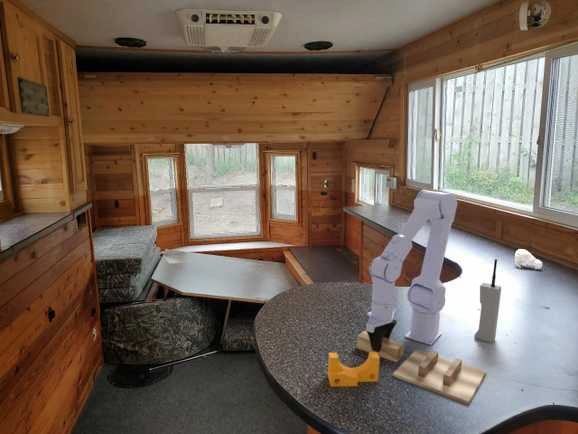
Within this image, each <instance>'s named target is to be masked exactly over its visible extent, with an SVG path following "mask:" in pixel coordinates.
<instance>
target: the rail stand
mask: <svg viewBox="0 0 578 434" xmlns="http://www.w3.org/2000/svg"><path fill="white" fill-rule="evenodd" d="M486 374H487V371H486V370H483V369H479V368H476V367H474V366H470V365H467V364H465V363H463V360H462V359H460V358H457V357H455V359H454V360H452V359H449V358H445V357H442V356H440V355H439V351H435V350H432V351H431V352H427V351H424V350H421V349H418V348H417V349H415V350H414V351H413V352H412V353H411V354H410V355H409V356H408V357H407V358H406V359H405V360H404V362H402V363H401V365H400V366H399V367H398V368H397V369H396V370H394V372H393V373H392V377H394V378H397V379H399V380H402V381H404V382H406V383H407V382H408V383H410V384H413V385H416V386H418V387H420V388H423V389H425V390H429V391H431V392H433V393H436V394H439V395H442V396H445V397H447V398H450V399H453V400H455V401H457V402H460V403H463V404H464V405H467V406H468V405H469V404H470V403H471V401H472V399H473V398H474V396H475V394H476V392H477V391H478V388H479V387H480V385H481V383H482V382H483V380H484V379H485V376H486Z"/></svg>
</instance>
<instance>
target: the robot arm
mask: <svg viewBox="0 0 578 434" xmlns="http://www.w3.org/2000/svg"><path fill="white" fill-rule="evenodd" d="M458 204H459V203H458V200H457V198H456V197H455V195H454V194H453V193H452V192H447V193H446V192H440V191H432V190H427V189H422V190H420V191H419V192H418V193H417V195H416V198H415V199H414V200H413V206H414V208H413V210H412V212H411V214H410V215H409V217H408V219H407V221H406V223H405V224H404V226H403V228H402V230H401V232H400V233H399V234H395V235H393V237H392V238H391V239H390V241H389V242H388V243H387V246H386V247H385V248H384V250H383V251H382V253H381V255H379V256H377V257H376V258H373V260H372V261H371V262H370V266H369V267H368V272H369V274H370V275H371V276H370V277H371V282H372V294H371V310H370V311H368V312H367V313H366V314H367V317H369V318H368V322H367V323H366V324H365V326H364V331H366V332H367V333H368V336H369V339H370V343H371V348H372V350H373V351H376V352H379V351H380V349H381V345H382V340H383V337H384V338H387V339H390V337H391V335H392V332H393V329H394V328H395V327H396V325H397V319H394V317H396V312H397V309H396V308H394V300H395V286H396V285H395V284H396V281H397V280H398V278H400V276H401V272H402V267H403V263H404V261H405V259H406V257H408V254H409V253H410V251H411V250H412V248H413V243H412V240H414V238H415V237H416V235H417V234H418V233H419V231H420V230H421V229H422V228H423V227H424V225H425V224H426V222H427V221H429V222H430V224H431V226H430V230H429V235H428V240H427V244H426V249H425V253H424V258H423V262H422V265H421V271H420V275H418V276H416V277H415V278H412V280H411V284H410V286H409V288H408V289H407V294H406V297H407V301H408V302H409V303H410V305H409V306H410V307H411V308H412V309H411V321H410V331H408V332H407V333H406V334H405V335H404V336H405V338H407V339H409V340H410V339H411V340H413V341H416V342H420V343H423V344H425V345H426V344H427V345H430V346H432V345H433V344H434V343H435V342H436V341H437V339H438V338H439V337H440V336H441V335H442V332H440V331H439V330H440V329H439V328H440V318H441V317H440V316H441V313H440V312H441V311H443V309H444V307H445V305H446V290H447V289H446V287H445V285H444V284H443V283H442V282H441V280H440V277H441V272H442V268H443V262H444V260H445V255H446V249H447V246H448V245H447V244H448V241H449V237H450V232H451V228H452V224H453V223H454V220H455V217H456V212H457V207H458Z"/></svg>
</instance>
